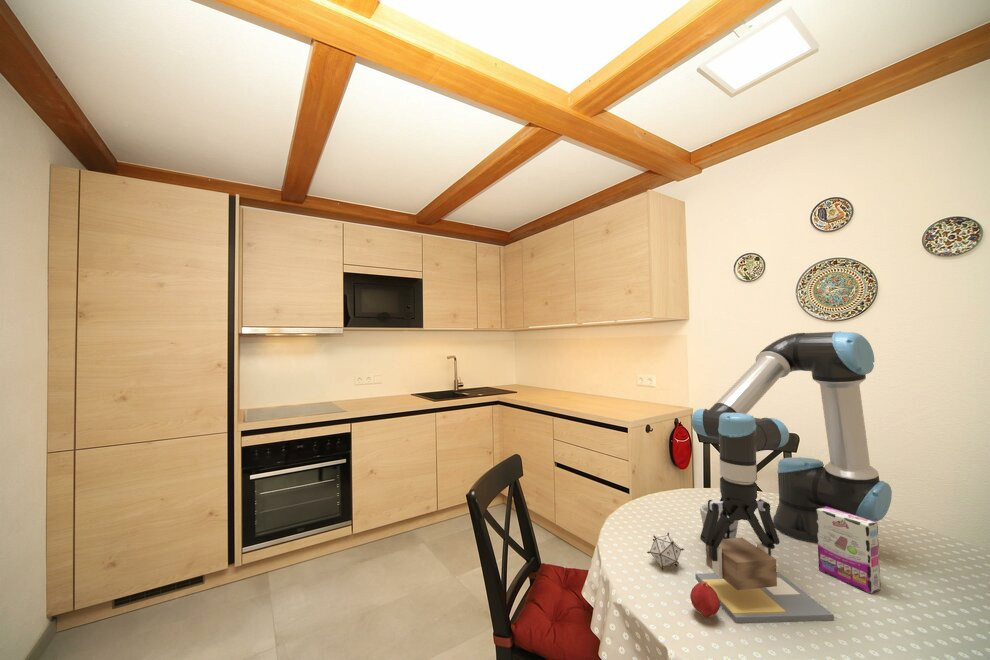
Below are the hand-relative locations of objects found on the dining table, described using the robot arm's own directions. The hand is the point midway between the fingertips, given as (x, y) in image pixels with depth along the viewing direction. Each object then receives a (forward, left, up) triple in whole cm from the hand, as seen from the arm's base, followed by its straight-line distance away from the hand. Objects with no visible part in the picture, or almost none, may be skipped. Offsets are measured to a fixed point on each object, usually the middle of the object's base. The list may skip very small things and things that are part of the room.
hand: (740, 573), depth 91 cm
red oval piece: (+11, +5, -7) cm, 14 cm away
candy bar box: (-33, -7, -7) cm, 35 cm away
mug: (-12, -28, -7) cm, 31 cm away
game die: (+11, -15, -7) cm, 20 cm away
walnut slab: (0, 0, 0) cm, 0 cm away
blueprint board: (-5, -1, -6) cm, 8 cm away
